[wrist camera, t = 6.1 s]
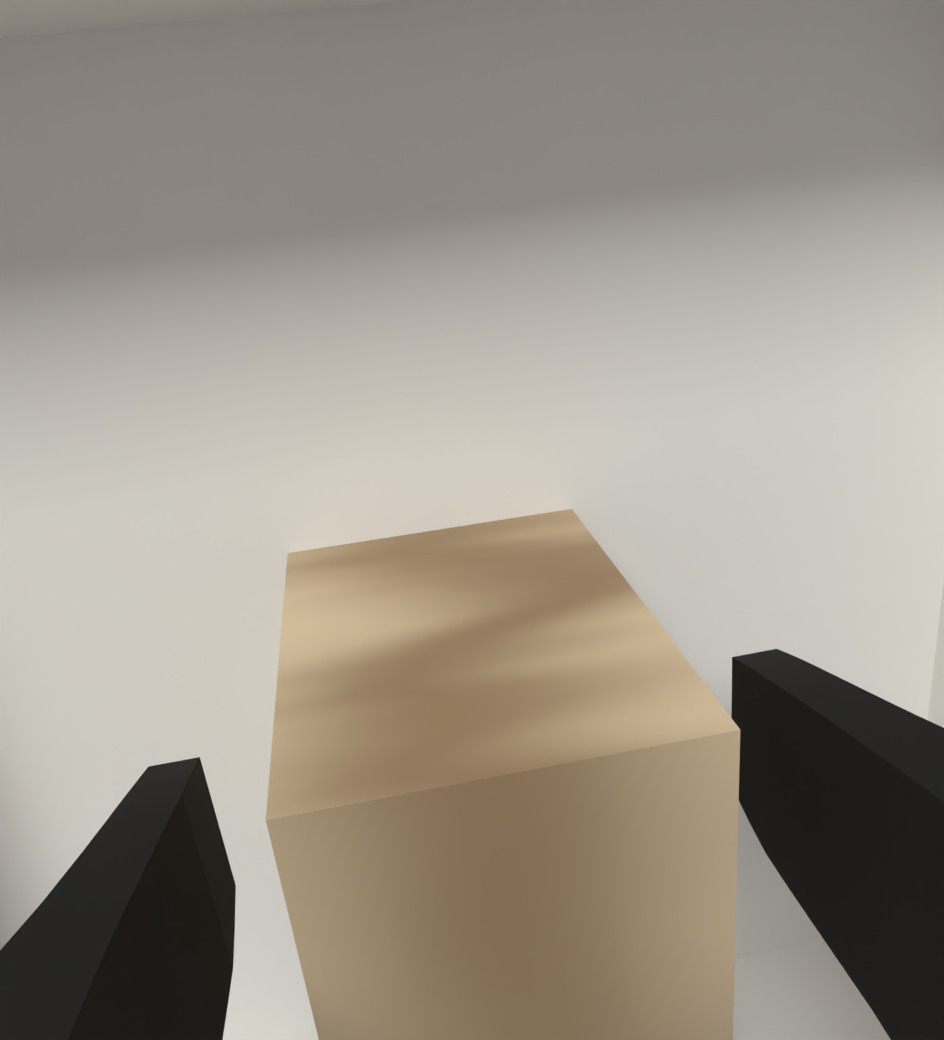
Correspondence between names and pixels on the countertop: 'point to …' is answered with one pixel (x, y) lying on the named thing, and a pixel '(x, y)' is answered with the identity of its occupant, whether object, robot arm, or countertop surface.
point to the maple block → (499, 795)
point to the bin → (455, 374)
